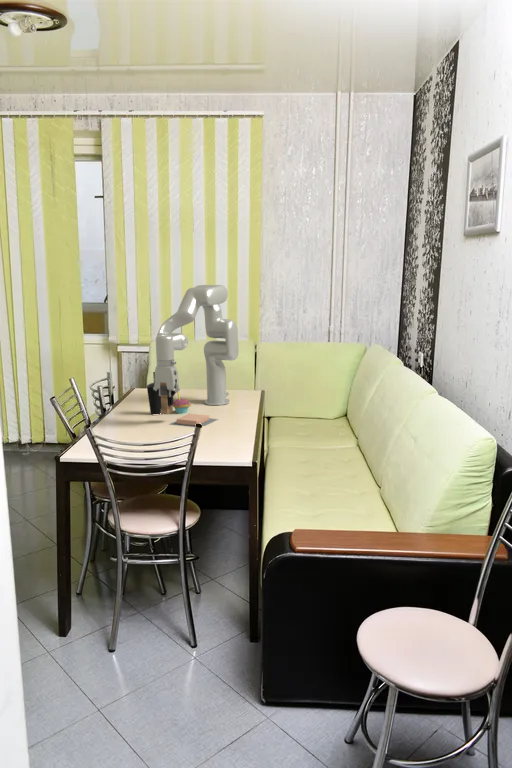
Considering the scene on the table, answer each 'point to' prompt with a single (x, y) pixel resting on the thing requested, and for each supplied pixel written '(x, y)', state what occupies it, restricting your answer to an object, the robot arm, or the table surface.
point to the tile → (192, 419)
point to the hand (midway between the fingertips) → (167, 404)
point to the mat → (194, 426)
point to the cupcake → (181, 405)
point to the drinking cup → (153, 398)
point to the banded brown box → (165, 399)
